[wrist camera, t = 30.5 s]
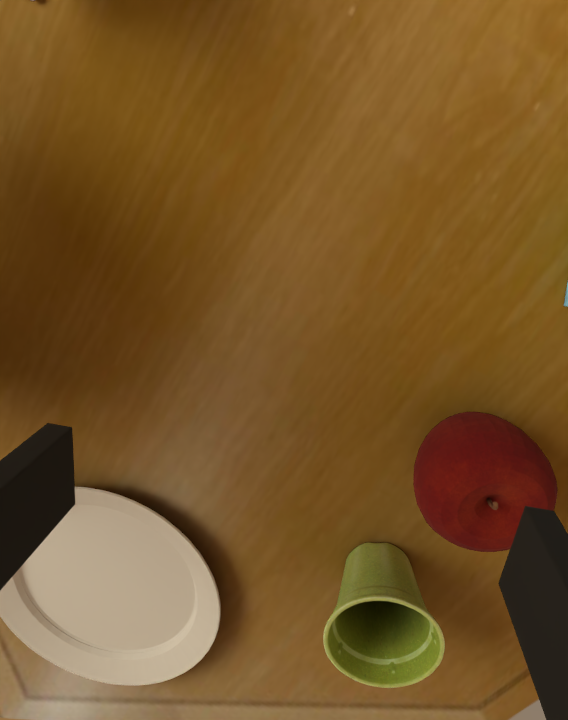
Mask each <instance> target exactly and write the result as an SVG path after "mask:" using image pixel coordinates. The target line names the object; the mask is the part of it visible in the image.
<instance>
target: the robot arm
mask: <svg viewBox="0 0 568 720" xmlns="http://www.w3.org/2000/svg"><path fill="white" fill-rule="evenodd" d="M74 505H75V484H74V460H73V437H72V427H67V426H62V425H56V424H50V423H47V424H46V425H45V426H44V427H42V428H41V429H40V430H38V431H37V432H36V433H35V434H33V435H32V436H31V437H30V438H28V439H27V440H26V441H25V442H23V443H22V444H21V445H20V446H18V447H17V448H16V449H14V450H13V451H12V452H11V453H9V454H8V455H7V456H6V457H4V458H3V459H2V460H1V461H0V590H1V589H2V588H3V587H4V586H5V585H6V584H7V582H8V581H9V580H10V579H11V578H12V577H13V575H14V574H15V573H16V572H17V571H18V570H19V569H20V567H21V566H22V565H23V564H24V563H25V562H26V560H27V559H28V558H29V557H30V556H31V555H32V554H33V552H34V551H35V550H36V549H37V548H38V547H39V545H40V544H41V543H42V542H43V541H44V540H45V538H46V537H47V536H48V535H49V534H50V533H51V532H52V530H53V529H54V528H55V527H56V526H57V525H58V523H59V522H60V521H61V520H62V519H63V518H64V517H65V515H66V514H67V513H68V512H69V511H70V510H71V508H72V507H73V506H74ZM499 586H500V589H501V592H502V594H503V597H504V600H505V603H506V606H507V609H508V612H509V614H510V617H511V620H512V623H513V626H514V629H515V631H516V634H517V637H518V640H519V643H520V646H521V649H522V651H523V654H524V657H525V660H526V663H527V666H528V669H529V671H530V674H531V677H532V680H533V683H534V686H535V688H536V691H537V694H538V697H539V700H540V703H541V706H542V708H543V711H544V714H545V717H546V720H568V534H567V532H566V530H565V529H564V527H563V525H562V524H561V522H560V520H559V519H558V517H557V515H556V514H555V512H554V511H552V510H546V509H540V508H534V507H529V506H525V508H524V511H523V514H522V516H521V519H520V522H519V525H518V528H517V531H516V534H515V537H514V540H513V543H512V546H511V549H510V551H509V554H508V557H507V560H506V563H505V566H504V569H503V572H502V575H501V578H500V581H499Z"/></svg>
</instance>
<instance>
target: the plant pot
mask: <svg viewBox="0 0 568 720" xmlns="http://www.w3.org/2000/svg"><path fill="white" fill-rule="evenodd" d="M323 641H324V648H325V651H326V654H327V656H328V657H329V659H330V661H331V662H332V663H333V665H334V666H335V667H336V668H337V669H338V670H339V671H340V672H342V673H343V674H345V675H346V676H348V677H350V678H351V679H353V680H355V681H358V682H360V683H363V684H367V685H370V686H375V687H383V688H396V687H402V686H407V685H411V684H414V683H417V682H419V681H421V680H423V679H425V678H426V677H427V676H429V675H430V674H431V673H433V672H434V671H435V669H436V668H437V667H438V666H439V664H440V663H441V661H442V659H443V655H444V650H445V641H444V636H443V633H442V630H441V628H440V626H439V625H438V623H437V622H436V620H435V619H434V618H433V617H432V615H431V614H430V613H429V611H428V610H427V609H426V607H425V604H424V601H423V599H422V596H421V593H420V590H419V587H418V585H417V582H416V579H415V576H414V573H413V570H412V567H411V564H410V562H409V559H408V558H407V556H406V555H405V553H404V552H403V551H402V550H400V549H399V548H397V547H396V546H394V545H392V544H389V543H369V542H368V543H364V544H362V545H359V546H358V547H356V548H355V549H354V550H353V551H352V552H351V553H350V554H349V556H348V557H347V560H346V563H345V569H344V574H343V578H342V583H341V588H340V592H339V597H338V602H337V606H336V607H335V609H334V611H333V613H332V615H331V616H330V618H329V619H328V621H327V623H326V626H325V629H324V636H323Z"/></svg>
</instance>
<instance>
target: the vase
mask: <svg viewBox="0 0 568 720" xmlns="http://www.w3.org/2000/svg"><path fill="white" fill-rule="evenodd" d="M564 306H568V283H567V289H566V295H565V302H564Z"/></svg>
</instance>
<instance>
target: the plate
mask: <svg viewBox="0 0 568 720" xmlns="http://www.w3.org/2000/svg"><path fill="white" fill-rule="evenodd" d="M0 617H1V618H2V620H3V621H4V622H5V623H6V625H7V626H8V627H9V628H10V630H11V631H12V632H13V633H14V634H15V635H16V636H17V637H18V638H19V639H20V640H21V641H22V642H23V643H25V644H26V645H27V646H28V647H29V648H30V649H32V650H33V651H34V652H36V653H37V654H38V655H40V656H41V657H43V658H44V659H46V660H48V661H49V662H51V663H53V664H54V665H56V666H58V667H60V668H62V669H64V670H66V671H68V672H71V673H73V674H76V675H78V676H81V677H84V678H87V679H91V680H94V681H98V682H103V683H108V684H116V685H148V684H154V683H159V682H163V681H166V680H169V679H172V678H174V677H177V676H179V675H181V674H183V673H185V672H186V671H188V670H189V669H191V668H192V667H194V666H195V665H196V664H197V663H198V662H199V661H200V660H201V659H202V658H203V657H204V656H205V654H206V653H207V652H208V651H209V649H210V648H211V646H212V644H213V642H214V640H215V638H216V635H217V632H218V629H219V624H220V617H221V606H220V598H219V592H218V589H217V586H216V583H215V580H214V577H213V575H212V573H211V571H210V569H209V567H208V565H207V563H206V562H205V560H204V558H203V557H202V555H201V554H200V552H199V551H198V550H197V549H196V547H195V546H194V545H193V544H192V542H191V541H190V540H189V539H188V538H187V537H186V536H185V535H184V534H183V533H182V532H181V531H180V530H179V529H178V528H176V527H175V526H174V525H173V524H171V523H170V522H169V521H168V520H166V519H165V518H164V517H162V516H161V515H159V514H158V513H156V512H154V511H153V510H151V509H150V508H148V507H146V506H144V505H142V504H140V503H138V502H136V501H134V500H131V499H129V498H126V497H124V496H121V495H118V494H115V493H111V492H108V491H104V490H99V489H93V488H87V487H75V505H74V506H73V507H72V508H71V510H70V511H69V512H68V513H67V514H66V515H65V517H64V518H63V519H62V520H61V521H60V522H59V523H58V525H57V526H56V527H55V528H54V529H53V530H52V532H51V533H50V534H49V535H48V536H47V537H46V538H45V540H44V541H43V542H42V543H41V544H40V545H39V547H38V548H37V549H36V550H35V551H34V552H33V554H32V555H31V556H30V557H29V558H28V559H27V560H26V562H25V563H24V564H23V565H22V566H21V567H20V569H19V570H18V571H17V572H16V573H15V574H14V575H13V577H12V578H11V579H10V580H9V581H8V582H7V584H6V585H5V586H4V587H3V588H2V589H1V590H0Z"/></svg>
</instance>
